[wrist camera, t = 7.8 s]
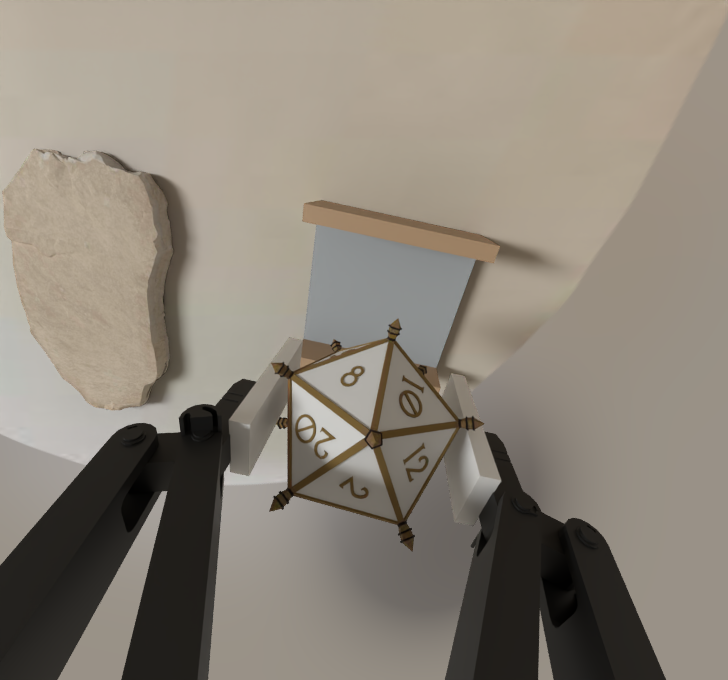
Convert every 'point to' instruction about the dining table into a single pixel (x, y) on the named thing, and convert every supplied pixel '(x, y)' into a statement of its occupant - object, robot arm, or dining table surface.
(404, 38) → the dining table surface
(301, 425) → the game die
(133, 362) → the stone tablet
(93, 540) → the robot arm
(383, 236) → the track
